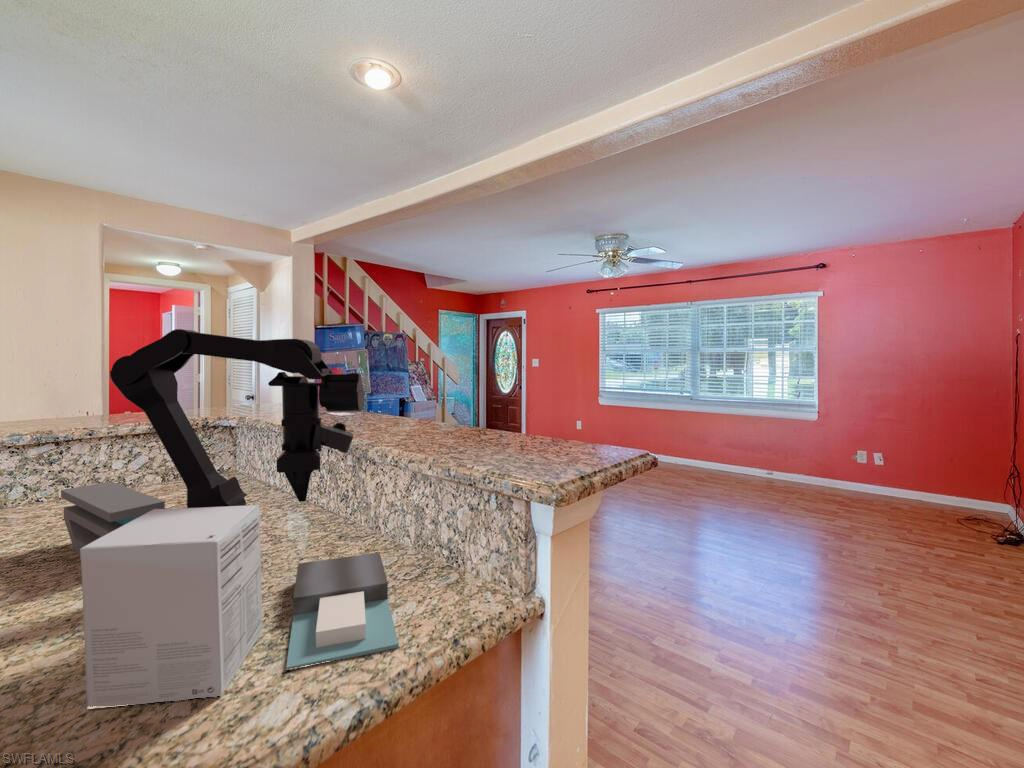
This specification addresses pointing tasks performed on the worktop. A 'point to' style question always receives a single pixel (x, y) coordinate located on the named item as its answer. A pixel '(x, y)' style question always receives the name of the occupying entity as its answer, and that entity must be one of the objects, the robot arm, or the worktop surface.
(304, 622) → the mat
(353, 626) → the tile
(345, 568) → the plate
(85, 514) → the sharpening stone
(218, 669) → the supplement box
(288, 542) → the worktop surface
